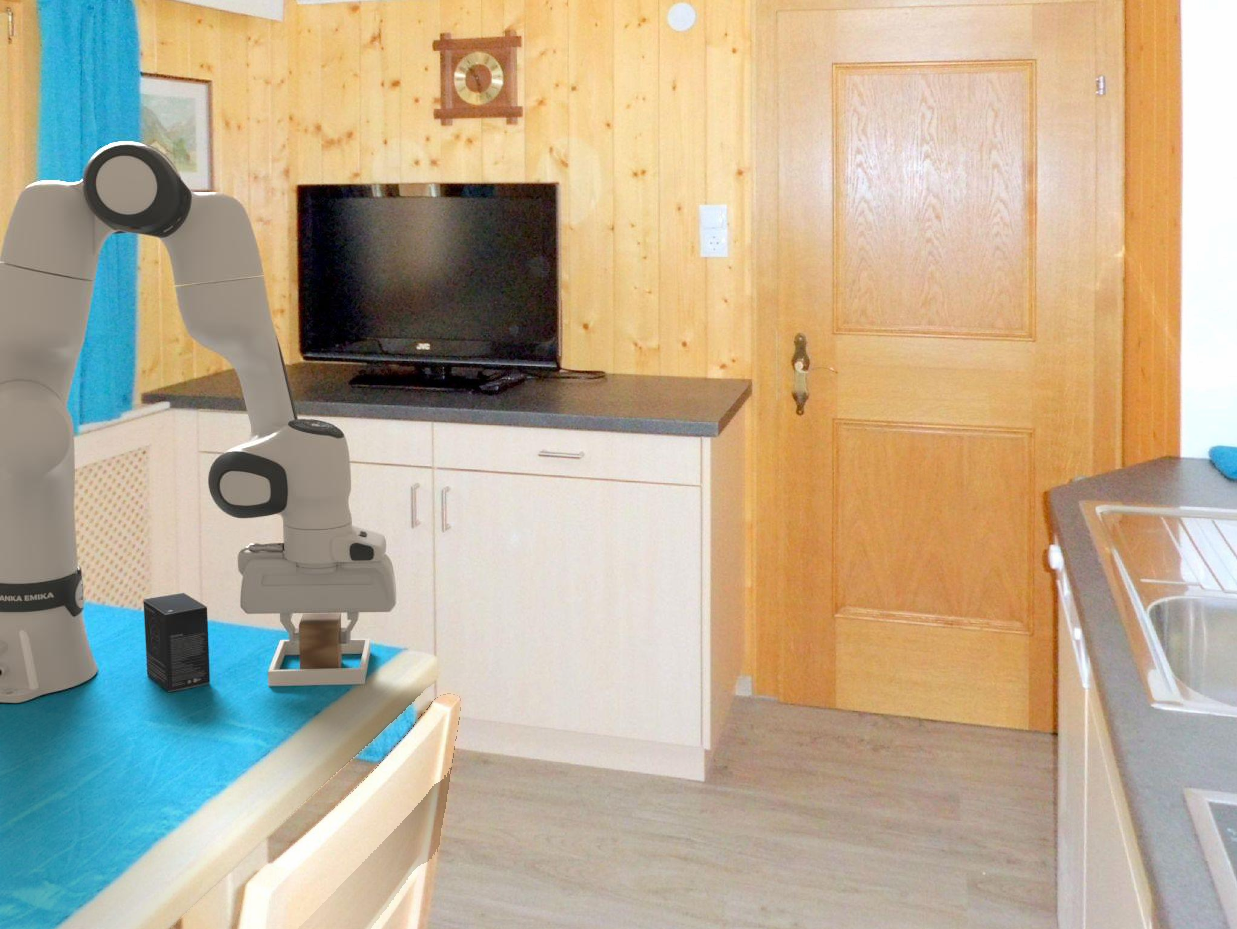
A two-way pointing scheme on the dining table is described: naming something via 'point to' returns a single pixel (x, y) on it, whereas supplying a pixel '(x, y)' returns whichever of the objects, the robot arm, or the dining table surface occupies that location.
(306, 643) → the walnut block
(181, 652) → the box
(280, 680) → the white square frame
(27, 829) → the dining table surface
